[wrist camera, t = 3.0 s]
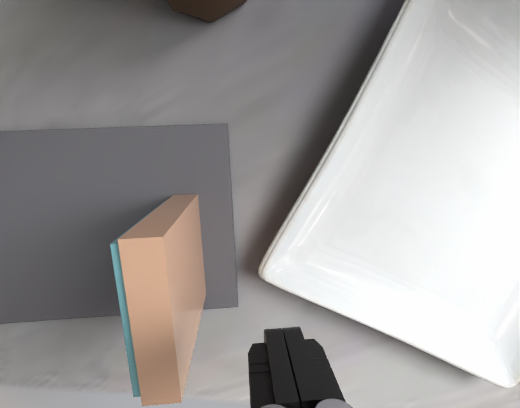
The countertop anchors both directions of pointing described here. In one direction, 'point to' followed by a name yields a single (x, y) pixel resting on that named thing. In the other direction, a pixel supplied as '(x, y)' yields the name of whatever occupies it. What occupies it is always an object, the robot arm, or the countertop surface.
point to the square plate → (422, 193)
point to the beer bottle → (205, 7)
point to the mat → (103, 212)
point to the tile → (161, 297)
